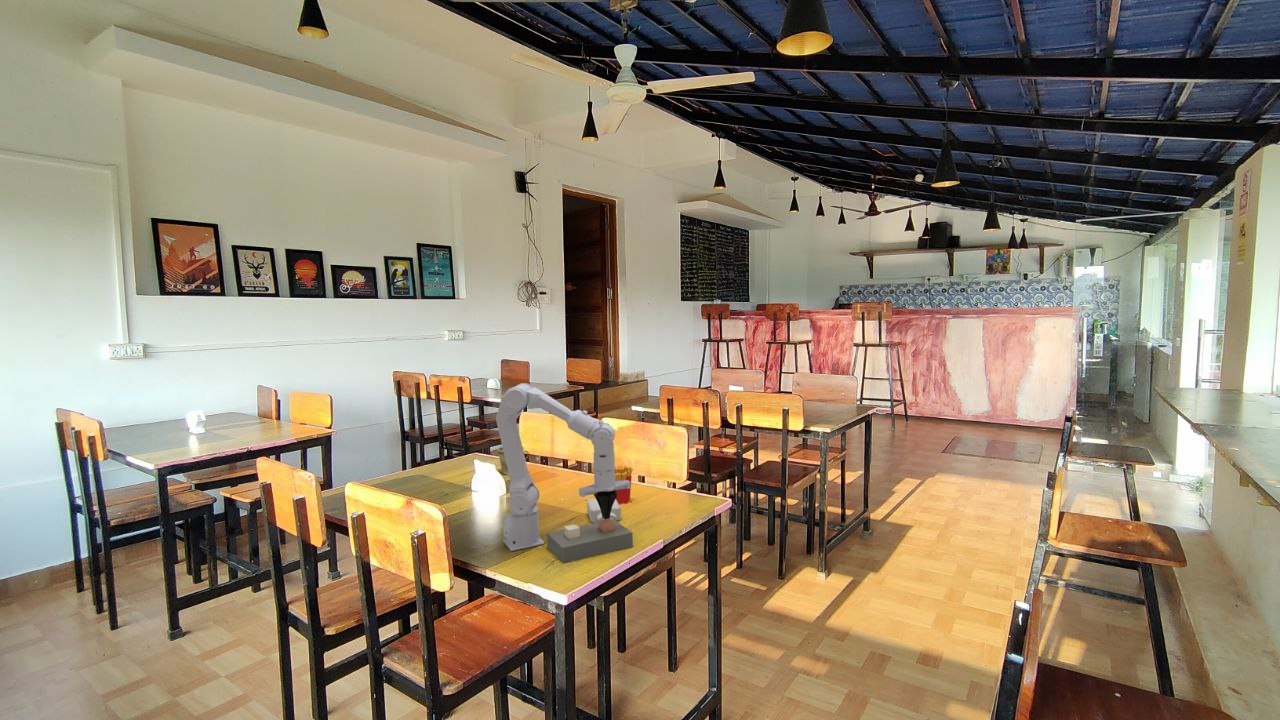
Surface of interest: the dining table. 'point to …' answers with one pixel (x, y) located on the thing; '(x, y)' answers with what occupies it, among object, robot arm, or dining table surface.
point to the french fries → (622, 475)
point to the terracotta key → (606, 525)
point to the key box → (589, 542)
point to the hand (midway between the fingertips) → (605, 517)
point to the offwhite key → (571, 532)
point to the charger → (596, 513)
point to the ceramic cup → (503, 461)
